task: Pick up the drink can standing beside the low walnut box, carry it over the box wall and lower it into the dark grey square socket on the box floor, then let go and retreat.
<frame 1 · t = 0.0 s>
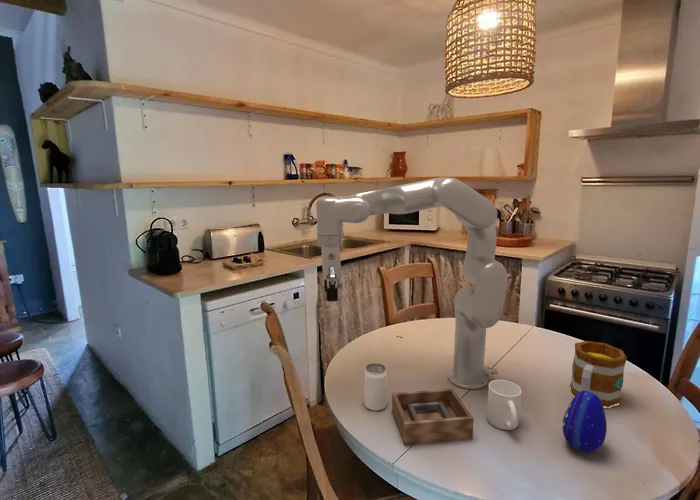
hand: (330, 295, 116), 31 cm above the table, tool pointing down, fingers open, 9 cm apart
bin: (429, 424, 105), on the table
mug: (504, 426, 105), on the table
can: (375, 405, 114), on the table
mug 2: (590, 400, 116), on the table
ornament: (581, 446, 97), on the table
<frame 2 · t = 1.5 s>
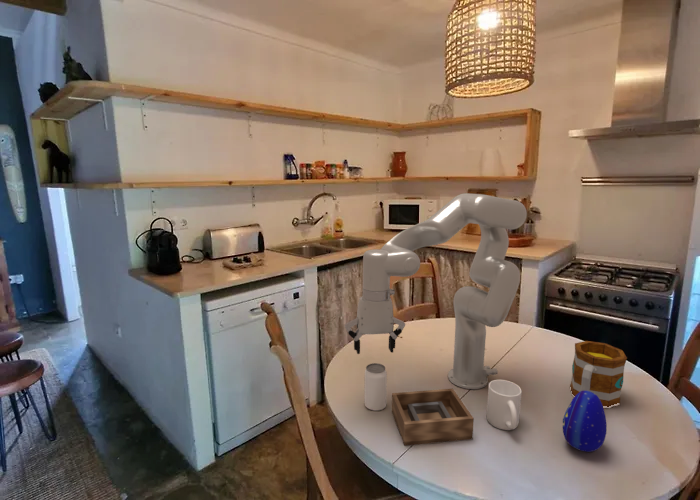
hand: (374, 351, 111), 17 cm above the table, tool pointing down, fingers open, 9 cm apart
nothing on the table moved.
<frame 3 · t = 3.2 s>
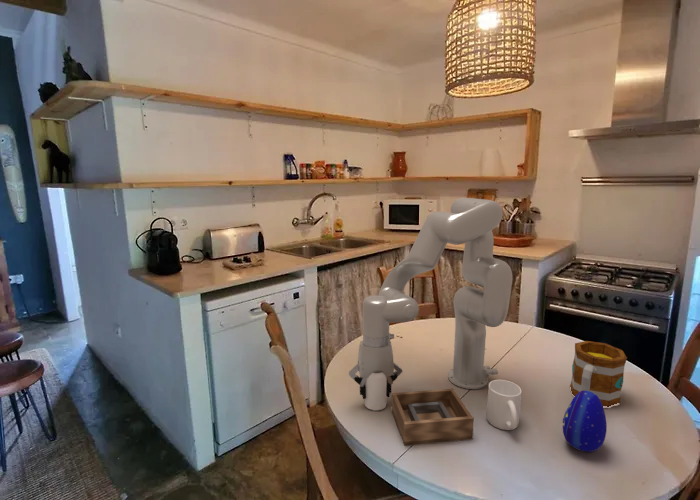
hand: (375, 395, 114), 3 cm above the table, tool pointing down, fingers closed on can, 6 cm apart
can: (375, 405, 114), on the table, touching gripper
everything else where it was.
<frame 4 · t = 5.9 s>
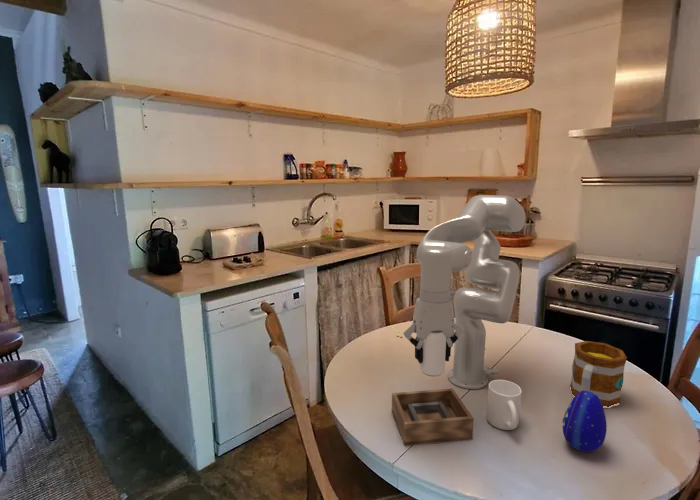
hand: (432, 359, 101), 19 cm above the table, tool pointing down, fingers closed on can, 6 cm apart
can: (432, 371, 102), point 16 cm above the table, touching gripper
everything else where it was.
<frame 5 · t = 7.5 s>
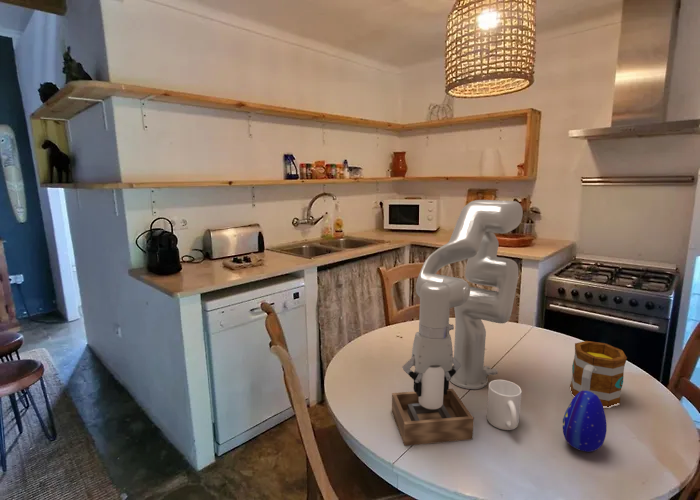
hand: (430, 392, 103), 10 cm above the table, tool pointing down, fingers closed on can, 6 cm apart
can: (430, 404, 104), point 6 cm above the table, touching gripper
everything else where it was.
when the fingers open (6 cm above the table, at t = 8.9 s): can drops 1 cm, resting on bin.
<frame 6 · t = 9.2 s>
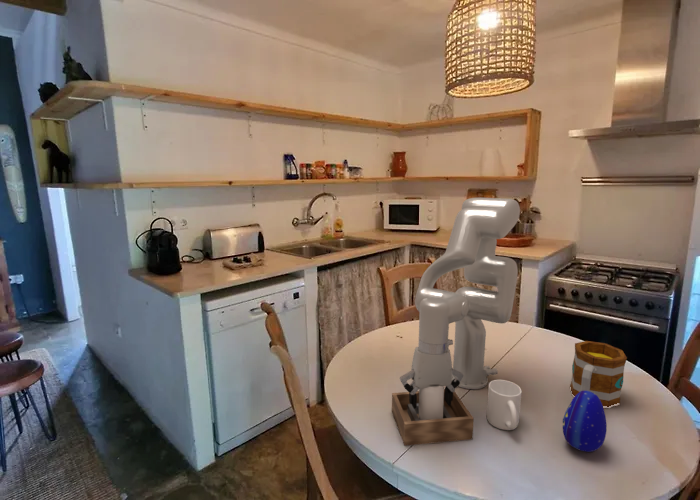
hand: (430, 404, 104), 6 cm above the table, tool pointing down, fingers open, 9 cm apart
can: (430, 421, 105), point 1 cm above the table, touching bin
everything else where it was.
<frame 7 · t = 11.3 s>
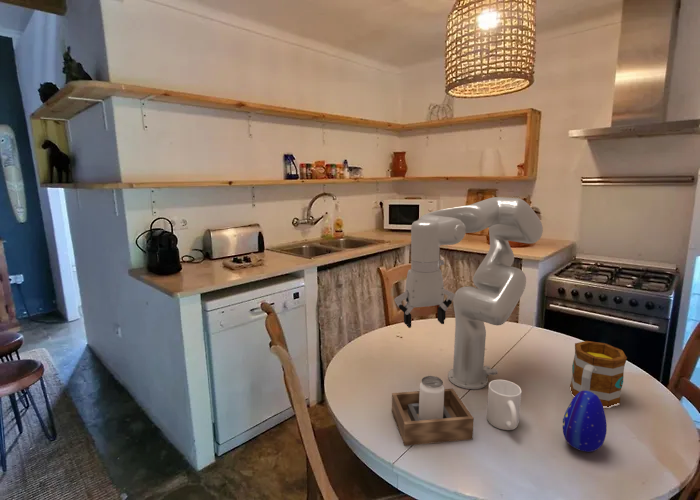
hand: (424, 324, 109), 26 cm above the table, tool pointing down, fingers open, 9 cm apart
nothing on the table moved.
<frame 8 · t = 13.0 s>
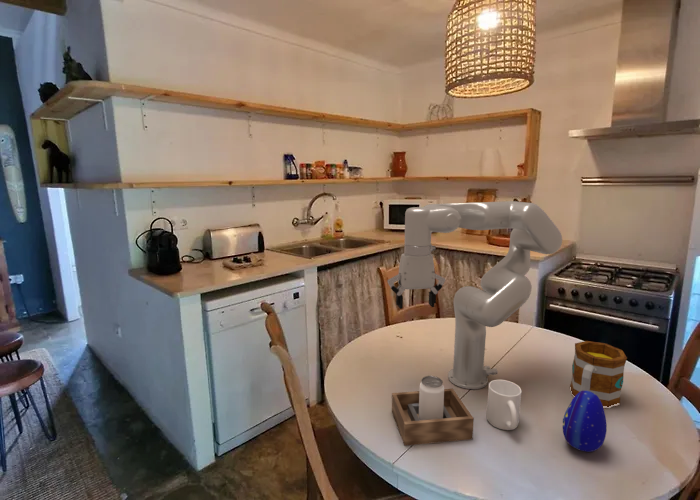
hand: (415, 306, 115), 28 cm above the table, tool pointing down, fingers open, 9 cm apart
nothing on the table moved.
at the end: can 0.2 cm off-centre on the bin, point 0.8 cm above the bin's base; can tilted 0°; the gripper is holding nothing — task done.
